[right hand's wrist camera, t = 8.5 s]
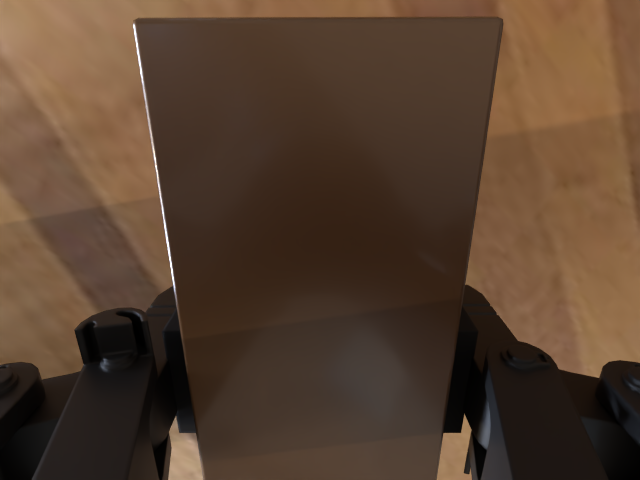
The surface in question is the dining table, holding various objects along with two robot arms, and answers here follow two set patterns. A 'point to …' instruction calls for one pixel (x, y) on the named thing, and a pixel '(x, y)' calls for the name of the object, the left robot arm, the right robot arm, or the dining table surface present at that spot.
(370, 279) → the bar
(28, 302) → the dining table surface
